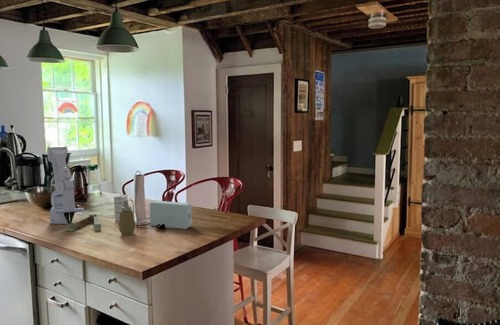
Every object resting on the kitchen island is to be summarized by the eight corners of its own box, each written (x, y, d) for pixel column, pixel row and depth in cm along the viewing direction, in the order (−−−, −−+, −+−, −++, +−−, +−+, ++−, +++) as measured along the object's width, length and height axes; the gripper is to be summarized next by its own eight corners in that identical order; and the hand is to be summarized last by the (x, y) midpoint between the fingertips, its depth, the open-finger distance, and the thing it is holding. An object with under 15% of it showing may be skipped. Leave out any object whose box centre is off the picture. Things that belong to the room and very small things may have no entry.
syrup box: (123, 221, 233) (122, 196, 231) (114, 220, 234) (113, 196, 233) (128, 218, 239) (127, 194, 237) (119, 218, 240) (118, 194, 238)
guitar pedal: (149, 225, 224) (148, 202, 222) (155, 223, 229) (154, 200, 228) (186, 229, 216) (186, 205, 215) (191, 226, 222) (191, 203, 220)
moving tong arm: (84, 222, 230) (84, 216, 229) (90, 222, 229) (89, 216, 229) (66, 231, 212) (66, 224, 212) (72, 231, 212) (72, 224, 211)
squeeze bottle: (126, 237, 202) (125, 202, 200) (115, 234, 206) (114, 200, 204) (138, 233, 209) (137, 199, 207) (128, 231, 213) (126, 198, 211)
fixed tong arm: (89, 221, 233) (89, 214, 232) (99, 220, 235) (99, 213, 235) (89, 231, 212) (89, 224, 212) (101, 230, 214) (100, 222, 214)
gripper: (53, 203, 210) (54, 228, 212) (83, 201, 215) (84, 226, 217) (54, 201, 216) (55, 225, 218) (83, 199, 222) (84, 223, 224)
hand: (69, 225), depth 218 cm, fingers closed
